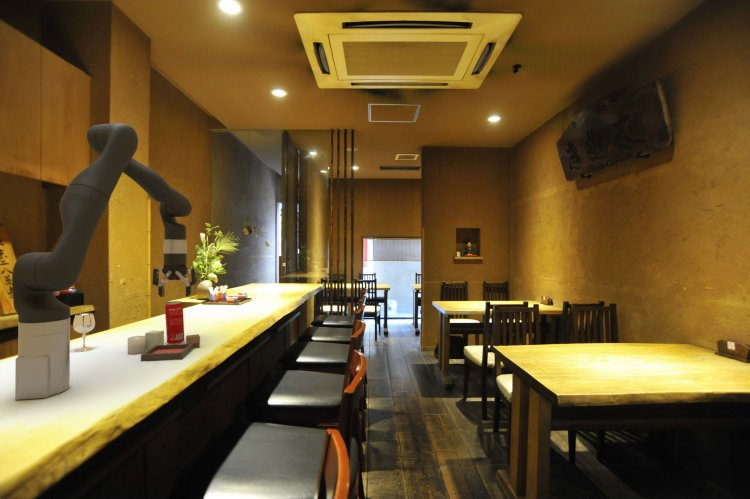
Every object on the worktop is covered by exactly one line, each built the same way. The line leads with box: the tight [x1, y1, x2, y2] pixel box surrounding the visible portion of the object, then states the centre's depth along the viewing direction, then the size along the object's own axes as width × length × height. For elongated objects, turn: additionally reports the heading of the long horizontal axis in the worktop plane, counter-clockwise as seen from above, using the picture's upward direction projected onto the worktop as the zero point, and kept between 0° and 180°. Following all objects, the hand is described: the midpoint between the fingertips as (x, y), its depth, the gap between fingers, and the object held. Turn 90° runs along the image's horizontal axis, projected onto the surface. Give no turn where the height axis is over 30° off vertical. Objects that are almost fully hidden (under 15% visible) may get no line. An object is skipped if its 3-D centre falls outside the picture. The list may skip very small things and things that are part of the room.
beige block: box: [127, 335, 146, 356], centre depth 121 cm, size 5×5×5 cm
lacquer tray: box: [140, 343, 193, 362], centre depth 118 cm, size 12×12×2 cm
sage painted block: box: [144, 329, 165, 351], centre depth 125 cm, size 4×4×6 cm
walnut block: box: [185, 334, 201, 349], centre depth 128 cm, size 4×4×4 cm
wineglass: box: [72, 312, 96, 352], centre depth 124 cm, size 6×6×12 cm
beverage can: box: [164, 300, 185, 345], centre depth 133 cm, size 6×6×15 cm
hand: (175, 296), depth 133 cm, fingers open, 8 cm apart
